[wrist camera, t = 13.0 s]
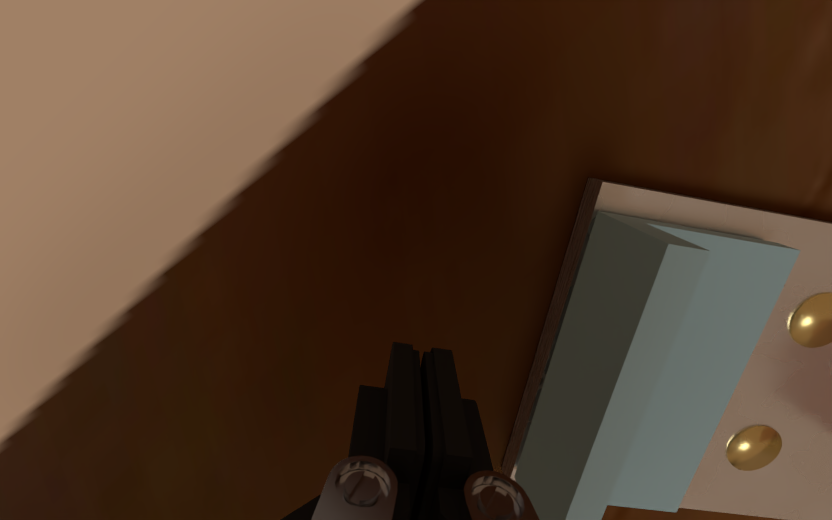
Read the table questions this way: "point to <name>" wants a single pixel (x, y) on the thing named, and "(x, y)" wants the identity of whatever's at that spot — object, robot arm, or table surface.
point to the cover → (645, 364)
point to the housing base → (763, 375)
